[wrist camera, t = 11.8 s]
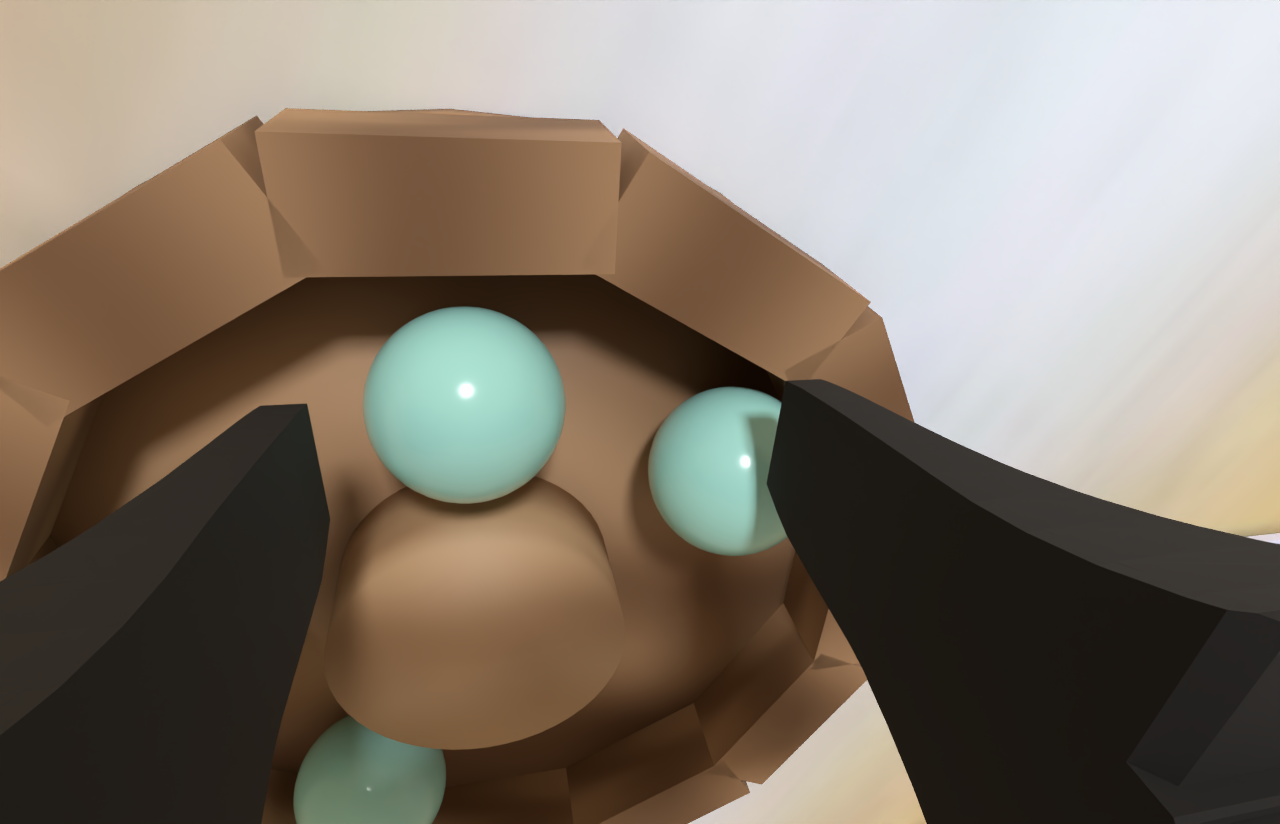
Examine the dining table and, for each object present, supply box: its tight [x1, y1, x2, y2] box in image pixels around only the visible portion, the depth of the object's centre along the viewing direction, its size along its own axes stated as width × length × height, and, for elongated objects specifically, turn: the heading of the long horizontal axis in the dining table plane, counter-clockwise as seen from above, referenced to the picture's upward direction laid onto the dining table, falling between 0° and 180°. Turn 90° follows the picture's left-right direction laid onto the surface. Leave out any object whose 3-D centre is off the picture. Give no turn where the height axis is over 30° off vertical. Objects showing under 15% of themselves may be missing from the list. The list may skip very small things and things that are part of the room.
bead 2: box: [648, 386, 787, 556], centre depth 14 cm, size 3×3×3 cm
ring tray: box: [0, 108, 914, 824], centre depth 16 cm, size 20×20×3 cm
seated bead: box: [293, 715, 446, 824], centre depth 17 cm, size 3×3×3 cm
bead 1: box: [363, 306, 566, 504], centre depth 12 cm, size 3×3×3 cm
